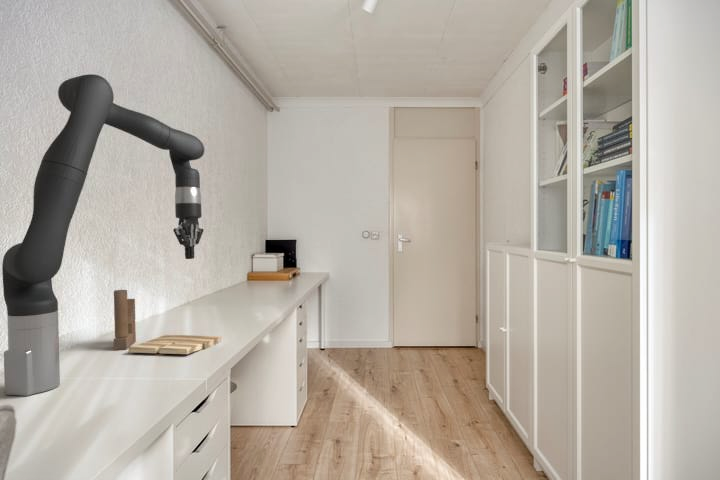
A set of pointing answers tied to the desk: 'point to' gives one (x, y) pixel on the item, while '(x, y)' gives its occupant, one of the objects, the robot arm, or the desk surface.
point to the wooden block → (124, 320)
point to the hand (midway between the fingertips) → (189, 258)
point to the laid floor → (188, 339)
